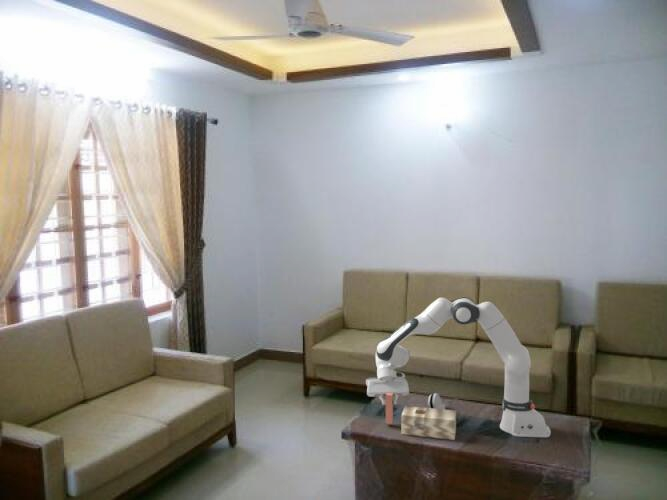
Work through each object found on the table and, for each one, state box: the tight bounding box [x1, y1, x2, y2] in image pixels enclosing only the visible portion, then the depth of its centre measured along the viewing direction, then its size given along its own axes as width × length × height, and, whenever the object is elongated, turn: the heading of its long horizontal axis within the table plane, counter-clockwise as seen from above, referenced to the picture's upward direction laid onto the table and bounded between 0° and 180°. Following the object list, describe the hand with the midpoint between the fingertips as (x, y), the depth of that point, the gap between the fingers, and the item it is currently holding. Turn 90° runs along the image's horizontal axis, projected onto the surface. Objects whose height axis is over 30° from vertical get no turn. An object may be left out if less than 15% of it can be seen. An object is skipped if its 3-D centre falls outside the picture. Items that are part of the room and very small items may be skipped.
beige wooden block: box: [400, 405, 457, 441], centre depth 259 cm, size 24×12×9 cm, turn 75°
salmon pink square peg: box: [385, 393, 394, 425], centre depth 266 cm, size 3×3×14 cm
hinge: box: [427, 392, 446, 410], centre depth 283 cm, size 17×5×10 cm, turn 162°
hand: (389, 404), depth 265 cm, fingers closed on salmon pink square peg, 4 cm apart
